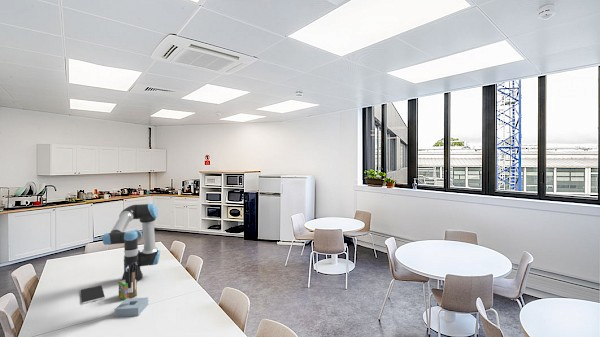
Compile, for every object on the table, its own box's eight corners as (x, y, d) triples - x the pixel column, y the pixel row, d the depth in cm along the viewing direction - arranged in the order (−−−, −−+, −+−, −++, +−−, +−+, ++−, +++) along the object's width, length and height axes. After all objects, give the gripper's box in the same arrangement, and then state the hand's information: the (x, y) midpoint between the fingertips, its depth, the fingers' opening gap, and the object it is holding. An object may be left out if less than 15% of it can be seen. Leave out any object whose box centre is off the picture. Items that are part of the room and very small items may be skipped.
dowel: (130, 295, 186) (130, 271, 186) (136, 295, 186) (135, 271, 186) (127, 298, 182) (127, 273, 182) (133, 298, 182) (133, 273, 182)
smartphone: (81, 305, 193) (81, 303, 193) (80, 291, 214) (80, 289, 214) (105, 299, 201) (105, 297, 201) (101, 286, 222) (101, 284, 222)
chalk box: (118, 297, 203) (117, 277, 203) (132, 292, 210) (131, 273, 210) (123, 301, 198) (122, 280, 197) (137, 296, 205) (137, 276, 205)
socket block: (126, 305, 191) (126, 298, 191) (148, 304, 192) (148, 297, 192) (115, 317, 177) (114, 309, 177) (138, 315, 178) (138, 307, 178)
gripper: (131, 251, 192) (132, 285, 192) (118, 259, 175) (118, 297, 175) (143, 251, 192) (143, 285, 193) (130, 259, 176) (131, 296, 176)
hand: (131, 290), depth 184 cm, fingers closed on dowel, 3 cm apart
